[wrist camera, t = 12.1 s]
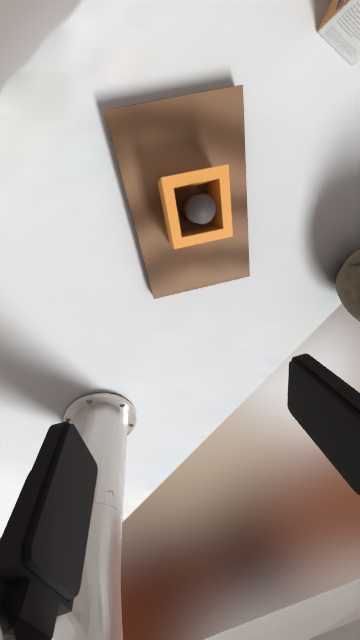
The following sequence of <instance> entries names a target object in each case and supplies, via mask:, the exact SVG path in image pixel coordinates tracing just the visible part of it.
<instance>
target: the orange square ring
mask: <svg viewBox="0 0 360 640" xmlns="http://www.w3.org/2000/svg"><path fill="white" fill-rule="evenodd" d="M206 183H207V189H208V195H209V196H210V197H211V198H212V199H213V200H214V202H215V206H216V211H215V215H214V217H213V218H212V220H211V226H208V227H204V228H199V229H194V230H190V231H185V232H181V230H180V224H179V218H178V212H177V206H176V200H175V194H174V190H176V189H181V188H186V187H191V186H196V185H201V184H206ZM158 188H159V193H160V198H161V203H162V208H163V213H164V219H165V224H166V229H167V234H168V239H169V244H170V245H171V246H172V247H173V248H174V249H178V248H183V247H187V246H192V245H196V244H201V243H205V242H210V241H215V240H219V239H224V238H228V237H233V228H232V212H231V195H230V179H229V164H227V165H222V166H217V167H212V168H207V169H202V170H197V171H192V172H186V173H181V174H176V175H171V176H166V177H161V178H160V180H159V181H158Z"/></svg>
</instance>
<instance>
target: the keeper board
mask: <svg viewBox="0 0 360 640" xmlns="http://www.w3.org/2000/svg"><path fill="white" fill-rule="evenodd" d="M104 111H105V115H106V119H107V123H108V127H109V130H110V134H111V138H112V142H113V146H114V149H115V153H116V157H117V161H118V164H119V168H120V172H121V176H122V180H123V183H124V187H125V191H126V195H127V199H128V202H129V206H130V210H131V214H132V218H133V221H134V225H135V229H136V233H137V236H138V240H139V244H140V248H141V252H142V255H143V259H144V263H145V267H146V271H147V274H148V278H149V282H150V286H151V290H152V293H153V297H154V299H156V298H160V297H164V296H168V295H173V294H177V293H181V292H185V291H189V290H194V289H198V288H202V287H206V286H210V285H215V284H219V283H223V282H227V281H231V280H236V279H240V278H244V277H248V276H250V274H249V246H248V218H247V190H246V161H245V133H244V105H243V85H238V86H233V87H227V88H222V89H217V90H211V91H206V92H200V93H195V94H189V95H184V96H179V97H173V98H168V99H162V100H157V101H151V102H146V103H140V104H135V105H130V106H124V107H119V108H113V109H108V110H104ZM227 164H229V179H230V195H231V212H232V228H233V237H228V238H224V239H219V240H215V241H210V242H205V243H201V244H196V245H192V246H187V247H183V248H178V249H174V248H173V247H172V246H171V245H170V244H169V239H168V234H167V229H166V224H165V219H164V213H163V208H162V203H161V198H160V193H159V188H158V181H159V180H160V178H161V177H166V176H171V175H176V174H181V173H186V172H192V171H197V170H202V169H207V168H212V167H217V166H222V165H227ZM174 194H175V200H176V206H177V212H178V218H179V224H180V230H181V232H185V231H190V230H194V229H199V228H204V227H208V226H211V220H212V218H213V217H214V215H215V211H216V206H215V202H214V200H213V199H212V198H211V197H210V196H209V195H208V189H207V183H206V184H201V185H196V186H191V187H186V188H181V189H176V190H174Z"/></svg>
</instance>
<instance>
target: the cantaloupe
mask: <svg viewBox="0 0 360 640" xmlns="http://www.w3.org/2000/svg"><path fill="white" fill-rule="evenodd" d="M336 290H337V293H338V296H339V298H340V300H341V302H342V303H343V305H344V307H345V308H346V309H347V310H348V312H349V313H350V314H351V315H352V316H354V317H355V318H356V319H357V320H358V321H360V248H359V249H358V250H357V251H356V252H354V253H353V254H352V255H351V256H350V257H349V258H348V259H347V260H346V261H345V262H344V264H343V266H342V268H341V269H340V271H339V273H338V275H337V278H336Z"/></svg>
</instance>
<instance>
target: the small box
mask: <svg viewBox="0 0 360 640" xmlns="http://www.w3.org/2000/svg"><path fill="white" fill-rule="evenodd" d="M317 32H318V33H319V34H320V35H321V36H322V37H323V38H324V39H325V40H326V41H327V42H328V43H329V44H330V45H331V46H332V47H333V48H334V49H335V50H336V51H337V52H338V53H339V54H340V55H341V56H342V57H343V58H344V59H345V60H346V61H347V62H348V63H349V64H350V65H354V64H356V63H357V62H359V61H360V0H331V2H330V5H329V7H328V9H327V11H326V13H325V15H324V17H323V20H322V22H321V24H320V26H319V28H318V30H317Z"/></svg>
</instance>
